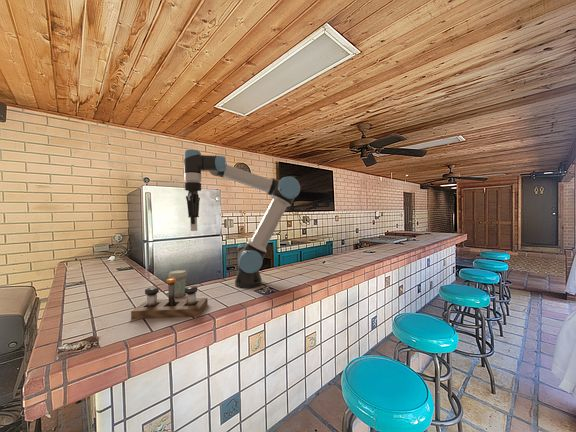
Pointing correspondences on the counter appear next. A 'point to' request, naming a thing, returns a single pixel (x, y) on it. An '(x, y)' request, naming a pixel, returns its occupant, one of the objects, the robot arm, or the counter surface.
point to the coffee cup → (179, 281)
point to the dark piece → (171, 290)
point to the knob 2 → (191, 295)
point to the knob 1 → (151, 296)
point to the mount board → (169, 309)
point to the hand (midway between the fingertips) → (194, 230)
